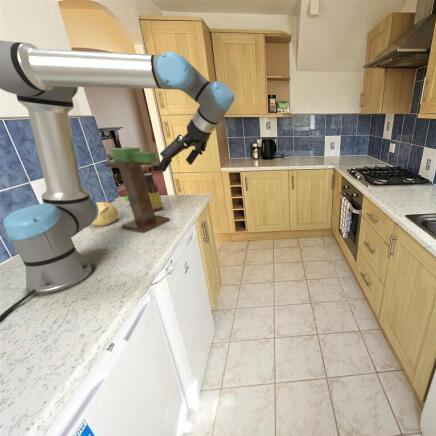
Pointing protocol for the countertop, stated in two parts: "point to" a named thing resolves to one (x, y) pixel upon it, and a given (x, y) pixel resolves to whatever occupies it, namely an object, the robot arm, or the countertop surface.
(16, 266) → the countertop surface
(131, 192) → the walnut stand
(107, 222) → the sculpture
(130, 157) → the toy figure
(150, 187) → the sauce bottle
